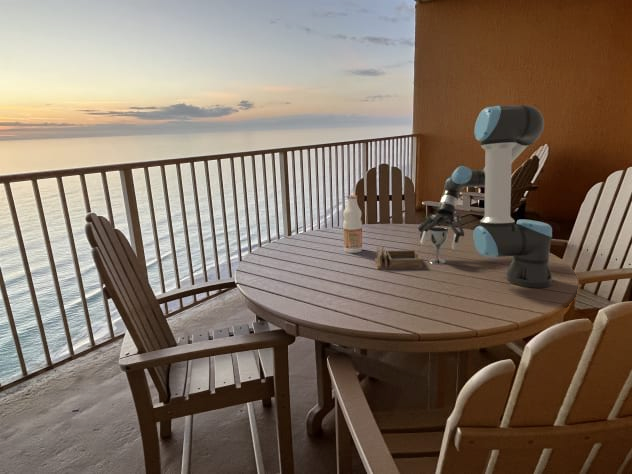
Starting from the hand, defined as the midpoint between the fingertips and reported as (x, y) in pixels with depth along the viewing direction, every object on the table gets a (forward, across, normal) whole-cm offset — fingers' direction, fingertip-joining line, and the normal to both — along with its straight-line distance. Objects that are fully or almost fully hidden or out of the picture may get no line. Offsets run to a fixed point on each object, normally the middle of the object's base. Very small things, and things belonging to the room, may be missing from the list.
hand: (436, 246), depth 168 cm
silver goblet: (+5, 0, -6) cm, 8 cm away
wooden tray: (+12, +14, +2) cm, 19 cm away
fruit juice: (+6, +42, -5) cm, 42 cm away
